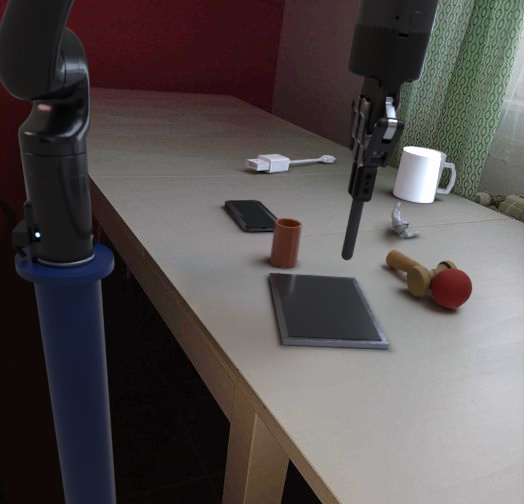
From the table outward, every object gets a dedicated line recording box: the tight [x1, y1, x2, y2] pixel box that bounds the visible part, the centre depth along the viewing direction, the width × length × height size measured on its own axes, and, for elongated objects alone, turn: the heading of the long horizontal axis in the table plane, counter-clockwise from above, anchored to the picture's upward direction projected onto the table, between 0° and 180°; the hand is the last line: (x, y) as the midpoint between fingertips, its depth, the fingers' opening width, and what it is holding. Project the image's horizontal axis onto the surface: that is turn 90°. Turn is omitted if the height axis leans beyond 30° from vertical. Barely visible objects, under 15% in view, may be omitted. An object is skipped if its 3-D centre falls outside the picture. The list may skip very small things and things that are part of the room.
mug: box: [392, 146, 457, 204], centre depth 130 cm, size 14×10×11 cm
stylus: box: [340, 199, 365, 261], centre depth 63 cm, size 1×1×13 cm
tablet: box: [268, 272, 390, 350], centre depth 78 cm, size 14×20×1 cm
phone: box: [224, 199, 279, 233], centre depth 108 cm, size 8×1×15 cm
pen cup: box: [269, 217, 303, 269], centre depth 89 cm, size 4×4×7 cm
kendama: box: [385, 249, 473, 309], centre depth 87 cm, size 8×6×18 cm
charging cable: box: [245, 153, 337, 174], centre depth 145 cm, size 5×32×3 cm, turn 133°
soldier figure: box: [390, 202, 420, 239], centre depth 109 cm, size 8×5×12 cm
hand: (358, 197), depth 62 cm, fingers closed on stylus, 1 cm apart
